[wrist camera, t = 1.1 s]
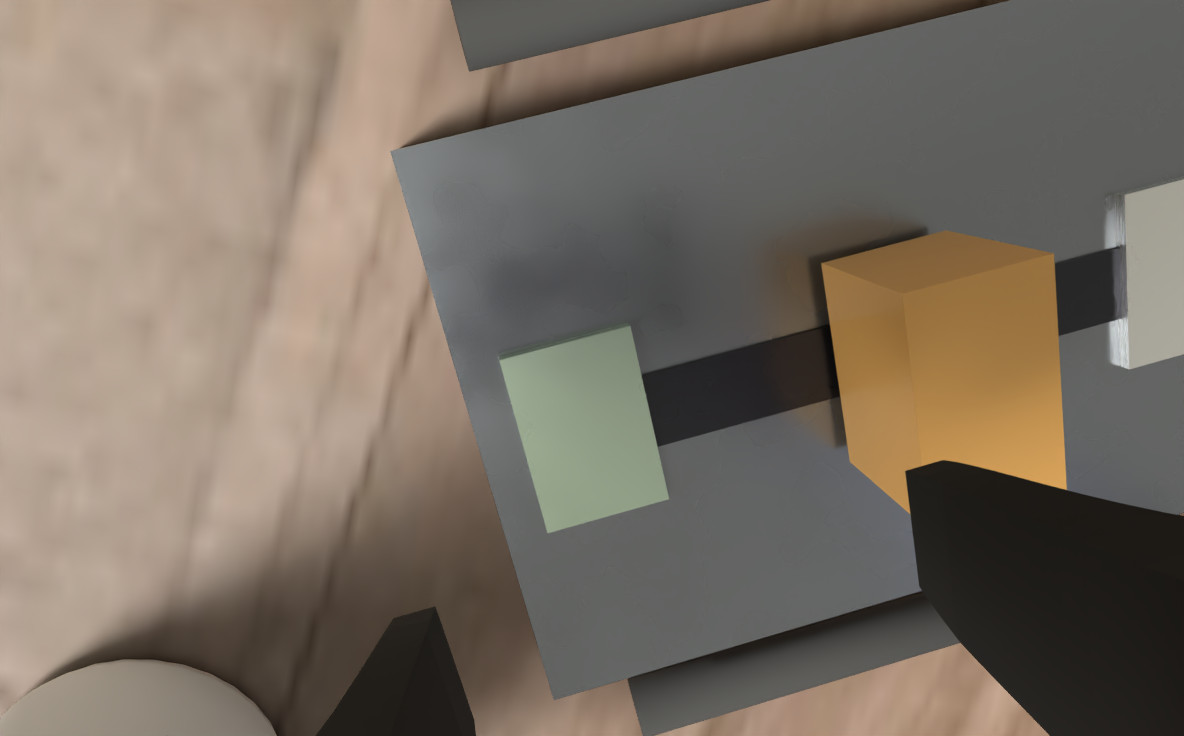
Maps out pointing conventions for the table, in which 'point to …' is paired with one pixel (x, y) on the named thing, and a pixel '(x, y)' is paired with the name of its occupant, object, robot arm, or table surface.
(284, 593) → the table surface
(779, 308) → the grey flat slab
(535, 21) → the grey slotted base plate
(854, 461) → the lever
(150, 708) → the milk bottle
